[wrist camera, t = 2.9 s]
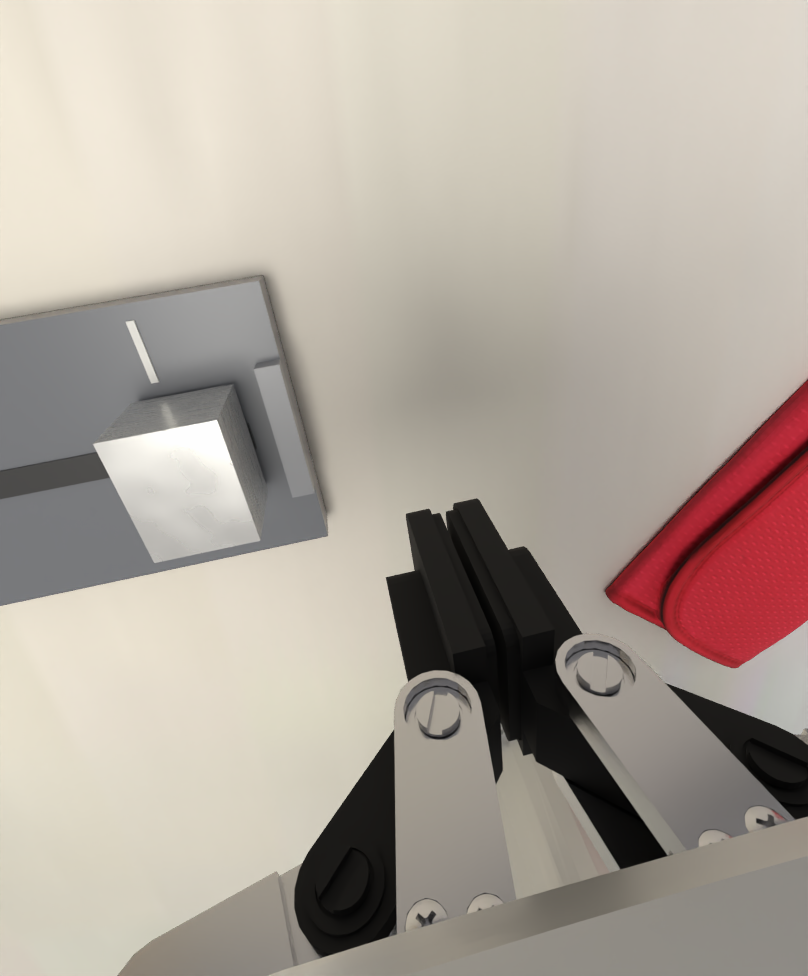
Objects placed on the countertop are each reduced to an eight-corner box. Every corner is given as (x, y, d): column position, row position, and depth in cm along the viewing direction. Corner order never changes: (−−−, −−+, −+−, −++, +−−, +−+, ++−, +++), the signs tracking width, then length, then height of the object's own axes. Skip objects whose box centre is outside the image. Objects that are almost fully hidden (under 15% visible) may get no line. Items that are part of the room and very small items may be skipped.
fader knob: (233, 383, 19) (216, 420, 16) (268, 489, 22) (260, 540, 19) (131, 402, 19) (92, 443, 16) (178, 507, 22) (154, 563, 18)
